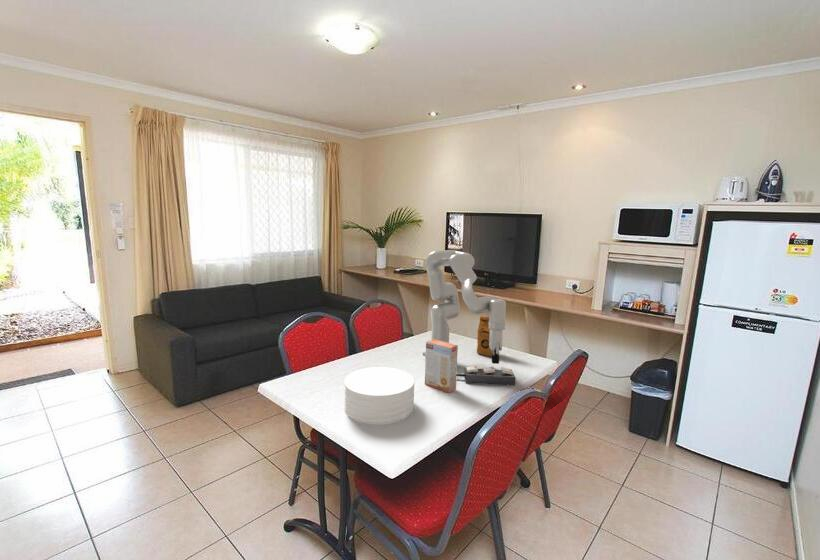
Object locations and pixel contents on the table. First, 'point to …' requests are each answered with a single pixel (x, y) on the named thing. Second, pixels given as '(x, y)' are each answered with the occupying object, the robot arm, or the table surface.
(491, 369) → the plate
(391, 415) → the plate stack
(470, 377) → the power strip
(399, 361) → the table surface
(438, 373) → the cracker box
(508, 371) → the rocker right
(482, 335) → the coffee package
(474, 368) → the block
